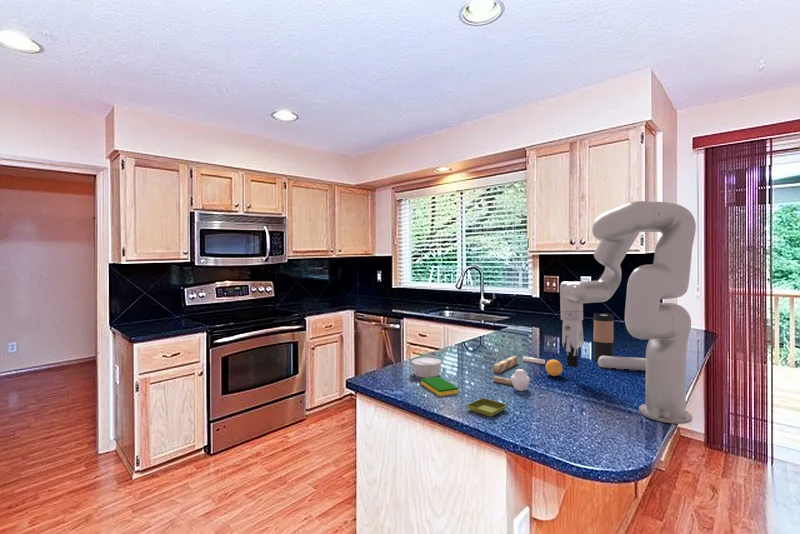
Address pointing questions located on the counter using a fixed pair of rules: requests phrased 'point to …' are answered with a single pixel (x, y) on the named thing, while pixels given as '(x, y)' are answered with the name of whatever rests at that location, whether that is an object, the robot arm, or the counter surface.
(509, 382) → the birch pin
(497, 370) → the rail
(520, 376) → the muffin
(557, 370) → the ball
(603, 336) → the travel mug
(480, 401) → the olive square dish
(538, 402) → the counter surface
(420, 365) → the ramekin
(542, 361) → the white pin
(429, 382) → the dish sponge
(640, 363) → the tube
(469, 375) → the counter surface
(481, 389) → the counter surface
